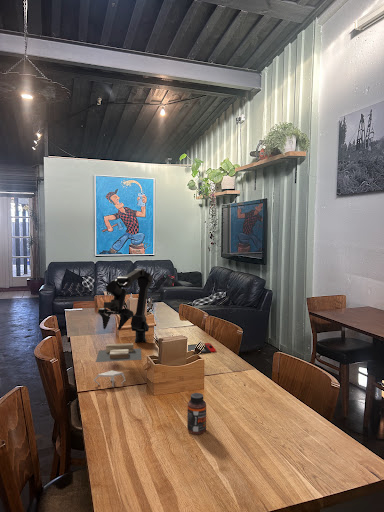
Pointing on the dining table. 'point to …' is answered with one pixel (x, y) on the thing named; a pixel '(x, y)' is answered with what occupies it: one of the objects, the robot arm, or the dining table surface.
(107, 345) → the rail
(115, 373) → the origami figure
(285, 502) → the dining table surface
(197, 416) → the supplement bottle
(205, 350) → the gaming console
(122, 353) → the deck
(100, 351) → the mat
